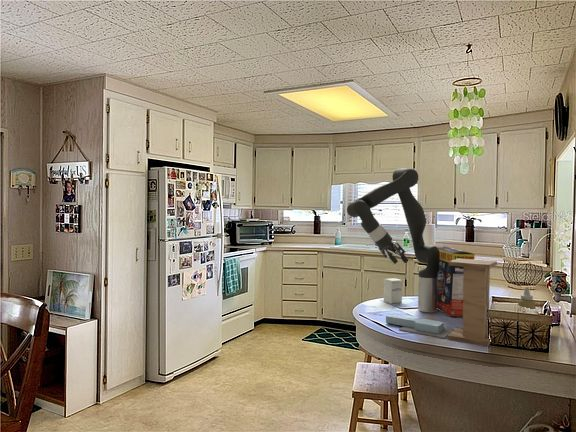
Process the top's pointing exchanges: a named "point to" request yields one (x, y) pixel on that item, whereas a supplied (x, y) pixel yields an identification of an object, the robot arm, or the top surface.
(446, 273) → the cereal box
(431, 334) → the mat
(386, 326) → the top surface
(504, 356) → the top surface
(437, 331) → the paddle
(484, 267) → the wooden pedestal stand
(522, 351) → the top surface
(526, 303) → the squeeze bottle
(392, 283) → the supplement box
